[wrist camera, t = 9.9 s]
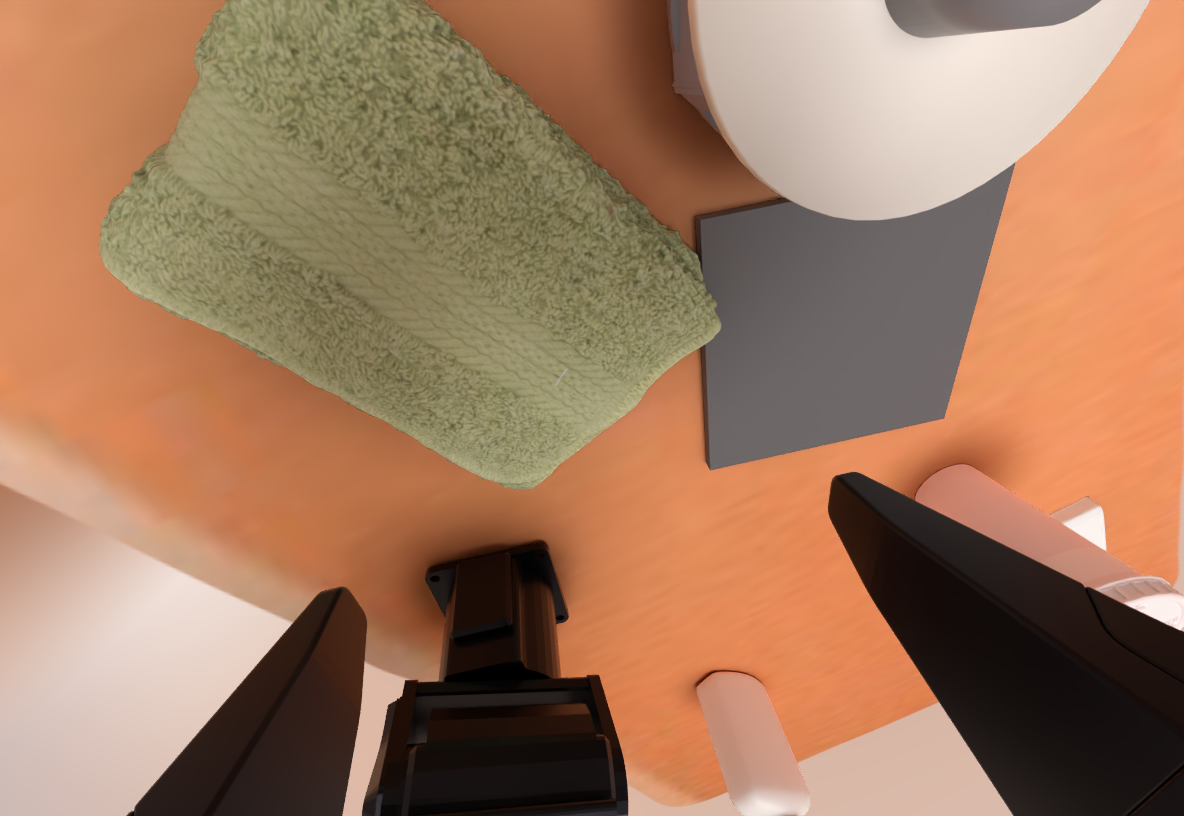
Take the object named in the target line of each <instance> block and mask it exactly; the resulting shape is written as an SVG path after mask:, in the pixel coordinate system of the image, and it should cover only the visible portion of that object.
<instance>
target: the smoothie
mask: <svg viewBox="0 0 1184 816" xmlns="http://www.w3.org/2000/svg"><path fill="white" fill-rule="evenodd" d="M915 501H917V502H919V503H921V504H923V505H925V506H927V507H929V508H931V509H933V510H935V511H937V512H939V513H941V514H943V515H945V516H947V517H949V518H951V519H953V520H955V521H957V522H959V523H961V524H963V525H965V526H968V527H970V528H972V529H974V530H976V531H978V532H980V533H982V534H984V535H986V536H988V537H990V538H992V539H994V540H996V541H998V542H1000V543H1002V544H1004V545H1006V546H1008V547H1010V548H1012V549H1014V550H1016V551H1018V552H1020V553H1022V554H1024V555H1026V556H1028V557H1030V558H1032V559H1034V560H1036V561H1038V562H1040V563H1042V564H1044V565H1046V566H1048V567H1050V568H1052V569H1054V570H1056V571H1058V572H1060V573H1062V574H1064V575H1066V576H1068V577H1070V578H1072V579H1074V580H1077V581H1079V582H1081V583H1082V584H1083V585H1084V587H1091V588H1093V589H1095V590H1097V591H1099V592H1101V593H1103V594H1105V595H1107V596H1109V597H1111V598H1113V599H1115V600H1117V601H1119V602H1121V603H1123V604H1126V605H1128V606H1130V607H1132V608H1134V609H1136V610H1138V611H1140V612H1142V613H1144V614H1147V615H1149V616H1151V617H1153V618H1155V619H1157V620H1159V621H1161V622H1163V623H1165V624H1167V625H1170V626H1172V627H1174V628H1176V629H1179V630H1181V629H1182V628H1183V626H1184V596H1183V595H1182V594H1181V593H1179V592H1178V591H1177V590H1175V589H1174V588H1173V587H1171V586H1170V584H1169V582H1167V581H1166V580H1164V579H1163V578H1161V577H1158V576H1151V575H1142V574H1141V573H1139V572H1137V571H1136V570H1134V569H1133V568H1131V567H1130V566H1128V565H1127V564H1125V563H1124V562H1122V561H1121V560H1119V559H1118V558H1116V557H1114V556H1113V555H1111V554H1110V553H1108V552H1107V551H1105V550H1103V549H1101V548H1100V547H1098V546H1097V545H1095V544H1094V543H1092V542H1090V541H1089V540H1087V539H1086V538H1084V537H1083V536H1081V535H1079V534H1078V533H1076V532H1075V531H1073V530H1071V529H1070V528H1068V527H1067V526H1065V525H1064V524H1062V523H1060V522H1059V521H1057V520H1056V519H1054V518H1053V517H1051V516H1049V515H1048V514H1046V513H1045V512H1043V511H1041V510H1040V509H1038V508H1037V507H1035V506H1034V505H1032V504H1030V503H1029V502H1027V501H1026V500H1024V499H1023V498H1021V497H1019V496H1018V495H1016V494H1015V493H1013V492H1011V491H1010V490H1008V489H1007V488H1005V487H1004V486H1002V485H1000V484H999V483H997V482H996V481H994V480H993V479H991V478H989V477H988V476H986V475H985V474H983V473H981V472H980V471H978V470H977V469H975V468H974V467H972V466H970V465H965V464H958V465H953V466H949V467H946V468H944V469H942V470H940V471H938V472H936V473H935V474H933V475H932V476H931V477H929V478H928V479H927V480H926V481H925V482H924V483H923V484H922V485H921V487H920V488H919V490H918V491H917V493H916V496H915Z"/></svg>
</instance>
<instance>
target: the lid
mask: <svg viewBox="0 0 1184 816" xmlns="http://www.w3.org/2000/svg"><path fill="white" fill-rule="evenodd" d="M1149 1H1150V0H688V14H689V24H690V33H691V43H692V49H693V54H694V58H695V63H696V67H697V72H698V77H699V81H700V84H701V87H702V90H703V93H704V95H705V98H706V101H707V104H708V107H709V110H710V112H711V114H712V116H713V118H714V120H715V122H716V124H717V126H718V128H719V130H720V132H721V134H722V136H723V138H724V139H725V141H726V142H727V144H728V145H729V147H730V148H731V150H732V151H733V152H734V154H735V155H736V157H737V158H738V160H739V161H740V162H741V163H742V164H743V165H744V166H745V167H746V168H747V169H748V170H749V171H750V172H751V173H752V175H753V176H754V177H755V178H756V179H758V180H759V181H760V182H762V183H763V184H764V185H766V186H767V187H768V188H770V189H771V190H772V191H773V192H775V193H777V194H778V195H780V196H782V197H784V198H786V199H788V200H790V201H792V202H794V203H796V204H798V205H800V206H803V207H805V208H808V209H810V210H813V211H816V212H819V213H822V214H825V215H828V216H832V217H837V218H844V219H850V220H885V219H892V218H899V217H905V216H909V215H913V214H916V213H920V212H923V211H927V210H930V209H933V208H935V207H938V206H940V205H943V204H945V203H947V202H950V201H952V200H955V199H957V198H959V197H961V196H963V195H964V194H966V193H968V192H970V191H972V190H974V189H975V188H977V187H979V186H981V185H983V184H984V183H986V182H987V181H989V180H990V179H992V178H993V177H995V176H996V175H998V174H999V173H1001V172H1002V171H1004V170H1005V169H1007V168H1008V167H1010V166H1011V165H1012V164H1013V163H1015V162H1016V161H1017V160H1018V159H1020V158H1021V157H1022V156H1023V155H1025V154H1026V153H1027V152H1028V151H1029V150H1031V149H1032V148H1033V147H1034V146H1036V145H1037V144H1038V143H1039V142H1040V141H1041V140H1042V139H1043V138H1044V137H1045V136H1046V135H1047V134H1048V133H1049V132H1050V131H1051V130H1052V129H1054V128H1055V127H1056V126H1057V125H1058V124H1059V123H1060V122H1061V121H1062V120H1063V119H1064V118H1065V117H1066V115H1067V114H1068V113H1069V112H1070V111H1071V110H1072V109H1073V108H1074V107H1075V105H1076V104H1077V103H1078V102H1079V101H1080V100H1081V99H1082V98H1083V97H1084V95H1085V94H1086V93H1087V92H1088V91H1089V90H1090V88H1091V87H1092V86H1093V84H1094V83H1095V82H1096V81H1097V79H1098V78H1099V77H1100V75H1101V74H1102V73H1103V72H1104V70H1105V69H1106V68H1107V66H1108V65H1109V64H1110V63H1111V61H1112V60H1113V58H1114V57H1115V55H1116V54H1117V52H1118V51H1119V49H1120V48H1121V46H1122V45H1123V43H1124V42H1125V40H1126V39H1127V37H1128V36H1129V34H1130V33H1131V31H1132V30H1133V29H1134V27H1135V26H1136V24H1137V22H1138V20H1139V19H1140V17H1141V15H1142V13H1143V12H1144V10H1145V8H1146V6H1147V5H1148V3H1149Z"/></svg>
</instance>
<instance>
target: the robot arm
mask: <svg viewBox="0 0 1184 816" xmlns="http://www.w3.org/2000/svg"><path fill="white" fill-rule="evenodd" d="M828 513H829V517H830V519H831V522H832V524H833V525H834V527H835V529H836V531H837V533H838V535H839V537H840V539H841V541H842V543H843V545H844V547H845V549H846V551H847V553H848V555H849V557H850V559H851V561H852V563H853V565H854V567H855V568H856V570H857V572H858V574H859V576H860V578H861V580H862V582H863V584H864V586H865V588H866V589H867V591H868V593H869V595H870V596H871V598H872V600H873V601H874V603H875V605H876V606H877V608H878V609H879V611H880V612H881V614H882V615H883V617H884V618H885V620H886V621H887V623H888V624H889V626H890V628H891V629H892V631H893V632H894V634H895V635H896V637H897V638H898V640H899V641H900V643H901V644H902V646H903V647H904V649H905V650H906V652H907V654H908V655H909V657H910V658H911V660H912V661H913V663H914V664H915V666H916V667H917V669H918V670H919V672H920V673H921V675H922V677H923V678H924V680H925V681H926V683H927V684H928V686H929V687H930V689H931V690H932V692H933V693H934V695H935V696H936V698H937V699H938V701H939V703H940V704H941V706H942V707H943V708H944V710H945V712H946V713H947V715H948V716H949V718H950V719H951V721H952V722H953V724H954V725H955V727H956V728H957V730H958V732H959V733H960V735H961V736H962V738H963V739H964V741H965V742H966V744H967V745H968V747H969V748H970V750H971V751H972V753H973V755H974V756H975V757H976V759H977V761H978V762H979V764H980V765H981V767H982V768H983V770H984V771H985V773H986V774H987V776H988V778H989V779H990V781H991V782H992V784H993V785H994V787H995V788H996V790H997V791H998V793H999V794H1000V796H1001V797H1002V799H1003V800H1004V802H1005V804H1006V805H1007V806H1008V808H1009V810H1010V811H1011V812H1012V814H1013V816H1184V632H1183V631H1181V630H1179V629H1176V628H1174V627H1172V626H1170V625H1167V624H1165V623H1163V622H1161V621H1159V620H1157V619H1155V618H1153V617H1151V616H1149V615H1147V614H1144V613H1142V612H1140V611H1138V610H1136V609H1134V608H1132V607H1130V606H1128V605H1126V604H1123V603H1121V602H1119V601H1117V600H1115V599H1113V598H1111V597H1109V596H1107V595H1105V594H1103V593H1101V592H1099V591H1097V590H1095V589H1093V588H1091V587H1084V585H1083V584H1082V583H1081V582H1079V581H1077V580H1074V579H1072V578H1070V577H1068V576H1066V575H1064V574H1062V573H1060V572H1058V571H1056V570H1054V569H1052V568H1050V567H1048V566H1046V565H1044V564H1042V563H1040V562H1038V561H1036V560H1034V559H1032V558H1030V557H1028V556H1026V555H1024V554H1022V553H1020V552H1018V551H1016V550H1014V549H1012V548H1010V547H1008V546H1006V545H1004V544H1002V543H1000V542H998V541H996V540H994V539H992V538H990V537H988V536H986V535H984V534H982V533H980V532H978V531H976V530H974V529H972V528H970V527H968V526H965V525H963V524H961V523H959V522H957V521H955V520H953V519H951V518H949V517H947V516H945V515H943V514H941V513H939V512H937V511H935V510H933V509H931V508H929V507H927V506H925V505H923V504H921V503H919V502H917V501H915V500H913V499H911V498H909V497H907V496H905V495H903V494H901V493H899V492H897V491H895V490H893V489H891V488H889V487H887V486H885V485H883V484H881V483H879V482H877V481H875V480H873V479H871V478H869V477H867V476H865V475H863V474H860V473H857V472H850V473H846V474H841V475H837V476H835V477H834V478H833V479H832V482H831V488H830V495H829V503H828ZM538 552H541V553H538ZM425 580H426V583H427V584H428V586H429V588H430V590H431V592H432V594H433V596H434V597H435V599H436V601H437V603H438V605H439V607H440V609H441V610H442V612H443V614H444V616H445V626H444V636H443V645H442V654H441V663H440V672H439V681H438V682H418V680H405V685H404V689H403V694H402V697H400V699H397V701H395V702H393V703H391V704H389V705H388V709H387V714H386V720H385V726H384V730H383V736H382V740H381V745H380V749H379V752H378V756H377V759H376V762H375V766H374V769H373V772H372V775H371V779H370V782H369V785H368V789H367V792H366V796H365V799H364V804H363V810H362V816H628V789H627V778H626V770H625V764H624V758H623V754H622V750H621V747H620V743H619V740H618V737H617V733H616V730H615V727H614V723H613V720H612V717H611V714H610V710H609V707H608V704H607V700H606V697H605V694H604V690H603V687H602V684H601V680H600V677H599V675H587V677H574V678H561V670H560V659H559V649H558V638H557V628H556V624H559V623H563V622H565V621H566V620H567V619H568V617H569V616H568V609H567V606H566V602H565V599H564V596H563V593H562V589H561V586H560V583H559V580H558V576H557V573H556V570H555V567H554V564H553V560H552V557H551V554H550V551H549V547H548V546H547V545H546V544H544V543H536V544H531V545H527V546H522V547H518V548H513V549H509V550H504V551H500V552H495V553H491V554H487V555H482V556H478V557H473V558H469V559H464V560H460V561H455V562H451V563H446V564H442V565H437V566H433V567H430V568H429V569H428V570H427V571H426V576H425ZM366 632H367V620H366V616H365V613H364V611H363V610H362V608H361V607H360V605H359V604H358V602H357V601H356V599H355V598H354V596H353V595H352V594H351V592H350V591H349V590H348V589H347V588H346V587H337V588H333V589H328V590H324V591H322V592H320V593H319V594H318V595H317V596H316V597H315V598H314V599H313V600H312V602H311V603H310V604H309V605H308V606H307V607H306V609H305V610H304V611H303V612H302V613H301V614H300V615H299V617H298V618H297V619H296V620H295V621H294V622H293V624H292V625H291V626H290V627H289V628H288V630H287V631H286V632H285V633H284V634H283V635H282V637H280V639H279V640H278V641H277V642H276V643H275V644H274V646H273V647H272V648H271V649H270V650H269V651H268V653H267V654H266V655H265V656H264V657H263V658H262V659H261V661H260V662H259V663H258V664H257V665H256V666H255V668H254V669H253V670H252V671H251V672H250V673H249V675H248V676H247V677H246V678H245V679H244V680H243V682H242V683H241V684H240V685H239V686H238V687H237V689H236V690H235V691H234V692H233V693H232V694H231V696H230V697H229V698H228V699H227V700H226V701H225V702H224V704H223V705H222V706H221V707H220V708H219V709H218V711H217V712H216V713H215V714H214V715H213V716H212V717H211V719H210V720H209V721H208V722H207V723H206V725H205V726H204V727H203V728H202V729H201V730H200V731H199V732H198V734H197V735H196V736H195V737H194V738H193V739H192V741H191V742H190V743H189V744H188V745H187V747H186V748H185V749H184V750H183V751H182V752H181V754H180V755H179V756H178V757H177V758H176V759H175V760H174V761H173V763H172V764H171V765H170V766H169V767H168V768H167V770H166V771H165V772H164V773H163V774H162V775H161V777H160V778H159V779H158V780H157V781H156V782H155V784H154V785H153V786H152V787H151V788H150V789H149V790H148V792H147V793H146V794H145V795H144V796H143V797H142V799H141V800H140V801H139V802H138V803H137V805H136V806H135V809H134V811H131V812H130V813H128V815H127V816H342V814H343V808H344V803H345V797H346V791H347V786H348V779H349V775H350V769H351V763H352V758H353V752H354V747H355V740H356V735H357V730H358V724H359V717H360V710H361V700H362V687H363V674H364V660H365V646H366Z"/></svg>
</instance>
